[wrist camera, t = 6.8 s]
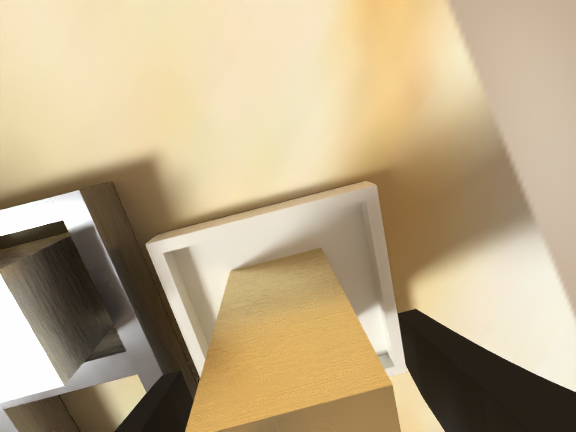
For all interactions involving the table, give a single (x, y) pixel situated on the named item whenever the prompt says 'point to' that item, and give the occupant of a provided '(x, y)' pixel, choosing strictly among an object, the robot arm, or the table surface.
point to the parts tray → (277, 244)
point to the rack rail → (77, 310)
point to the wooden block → (291, 356)
